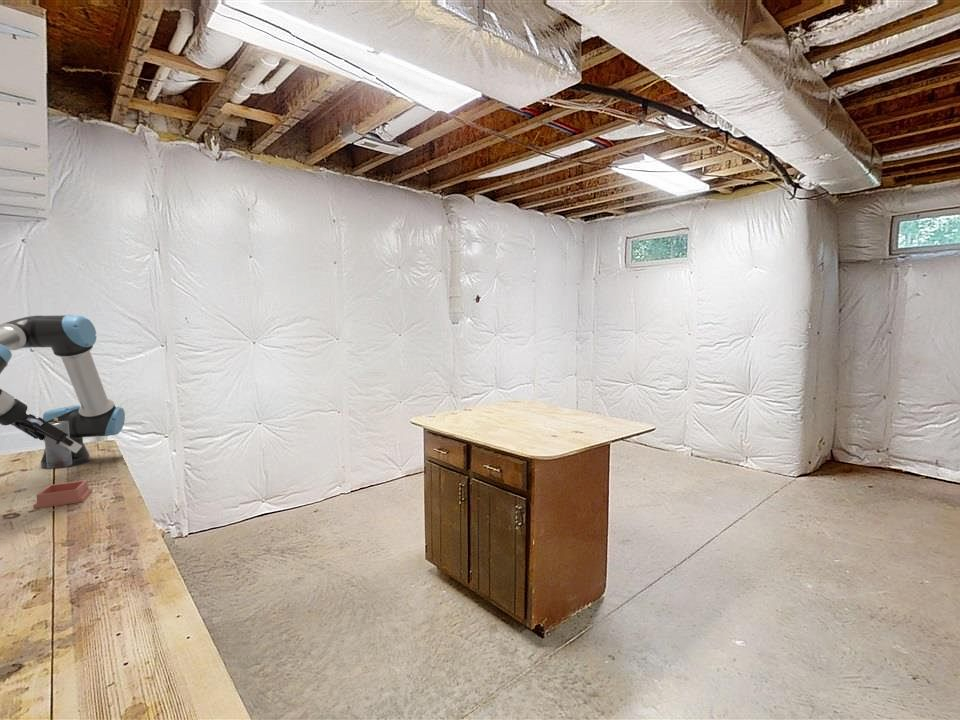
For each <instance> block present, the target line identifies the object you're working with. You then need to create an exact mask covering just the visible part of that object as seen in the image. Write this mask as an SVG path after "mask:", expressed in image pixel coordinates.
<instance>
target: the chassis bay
mask: <svg viewBox="0 0 960 720" xmlns="http://www.w3.org/2000/svg"><path fill="white" fill-rule="evenodd" d="M92 493H93V488H89V483H88V479H85V480H79V481H71V482H70V481H69V482H64V483H63V482H62V483H55V484H53V483H52V484H49V485H47V486H46V487H44V488H43V489H42V490H41V491H40V492H39V493H37V494H36V495H35V497H36V502H35V503H33V504H32V507H33V509H34V510H35V509H43V508H48V507H56V506H63V505H70V504H77V503H83V502H84V501H85V500H86V499H87V498H88V497H89V496H90V495H91V494H92Z"/></svg>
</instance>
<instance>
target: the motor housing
mask: <svg viewBox="0 0 960 720" xmlns="http://www.w3.org/2000/svg"><path fill="white" fill-rule="evenodd" d="M53 419H54V422H50V423H49V424H51V425H53V426H54V427H56V428H58V429H59V430H61V431H63V432H65V433H67V434H68V435H67V437H69V438H70V433H69V422H68V421H58V418H53ZM44 439H45V442H44V450H46V461H47V468H48V469H47V470H53V469H54V470H55V469H63V467H64V468H68V467H67V466H70V465H72V456H71V450H69V449H67V448H65V447H64V446H62V445H60V444H56V442H57V441H56V440H54V439H51V438H49V437H47V436H45V435H44ZM70 467H71V466H70Z"/></svg>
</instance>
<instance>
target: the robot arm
mask: <svg viewBox="0 0 960 720" xmlns="http://www.w3.org/2000/svg"><path fill="white" fill-rule="evenodd" d="M96 342H97V330H96V328H95V325H94V324H93V322H92V321H91V319H89V318H87V317H85V316H82V315H73V314H66V315H30V316H25V317H22V318H17V319H12V320H10V321H7V322H4V323H1V324H0V375H1V374H2V372H3V371H4V369H6V368H7V367H8V363H9V362H10V360H11V358H12V355H13V354H12V351H17V350H20V349H23V348H24V349H25V348H26V349H27V348H51V350H52V352H53V354H54V356H56V357H59V358H61V360H62V363H63V364H64V368H65V369H66V373H67V375H68V378H69V380H70V382H71V385H72V386H73V389H74V392H75V394H76V397H77V399H78V402H79V404H80V405H70V406H64V407H58V408H55V409H49V410H46V411H45V412H44V413H43V414H42V417H40V416H39V417H36V416H35V415H33V414H32V413H29V414H28V413H27V411H28V408H29V407H28V405H27V404H26V403H24V402H22V401H20V400H19V399H17V398H15V396H13V395H12V394H9V393H8V392H6V391H5V390H3V389H1V388H0V425H2V426H10V425H11V426H13V427H15V428H16V429H19V430H20V431H22V432H23V433H25V434H26V435H29V436H30V437H32V438H33V439H35V440H39V441H43V442H44V443H45V439H44V435H45V436H47V437H49V438H51V439H54V440H56V441H57V442H56V444H60V445H62V446H64V447H65V448H67V449H69V450H71V456H72V465H70V467H75V466H78V465H83V464H85V463H87V462H89V461H91V456H90V452H89V451H88V449H87V447H86V445H85V443H84V439H83V438H92V437H94V438H95V437H109V436H116V435H118V434H120V432H122V429H123V427H124V425H125V420H126V419H125V418H126V413H125V410H124V408H122V407H121V406H116V404H115V402H114V401H113V400H111V399H108V396H107V394H106V391H105V389H104V386H103V384H102V383H103V382H102V381H101V377H100V375H99V372H98V369H97V367H96V365H95V362H94V359H93V355H92V353H91V350H92V349H93V347H94V345H95V344H96ZM53 418H58V421H68V422H69V433H70V438H69V437H67V435H68V434H67V433H65V432H63V431H61V430H59V429H58V428H56V427H54V426H53V425H51V424H49V423H50V422H54V419H53ZM42 453H43V454H42V456H41V460H40V468H41V469H44V470H49V469H48V468H47V461H46V450H45V449H44V450H43V452H42ZM63 468H65V467H63ZM63 468H62V469H63ZM66 468H69V466H67V467H66Z"/></svg>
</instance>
